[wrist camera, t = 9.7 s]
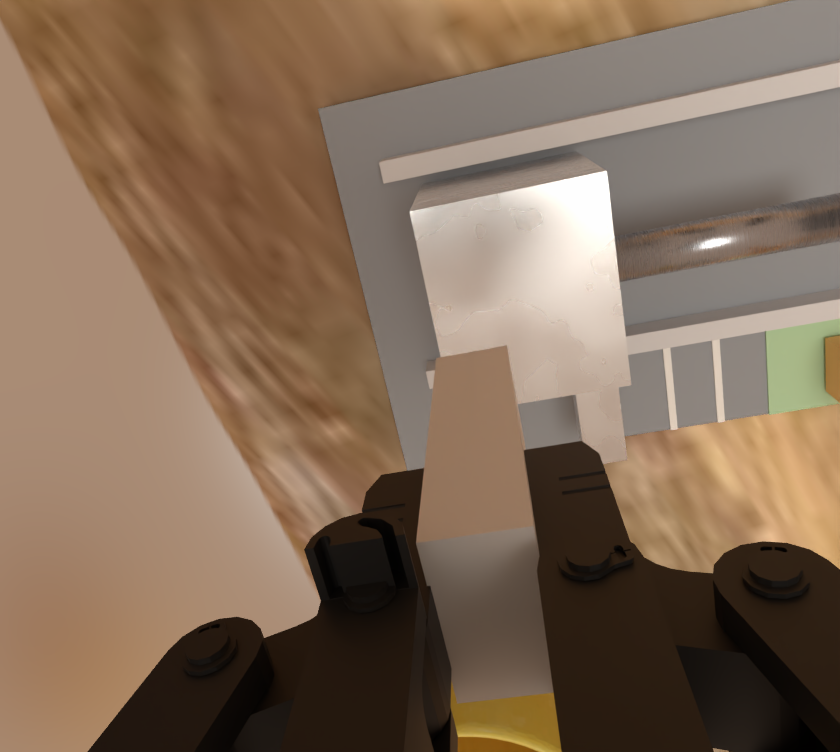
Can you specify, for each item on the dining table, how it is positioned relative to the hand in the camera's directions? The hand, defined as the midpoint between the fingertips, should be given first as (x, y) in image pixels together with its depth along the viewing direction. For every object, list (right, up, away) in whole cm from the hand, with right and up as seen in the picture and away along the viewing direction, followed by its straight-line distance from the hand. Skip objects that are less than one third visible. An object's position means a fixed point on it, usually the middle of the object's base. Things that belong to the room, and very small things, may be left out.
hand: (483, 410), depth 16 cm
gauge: (+7, +4, +14) cm, 16 cm away
